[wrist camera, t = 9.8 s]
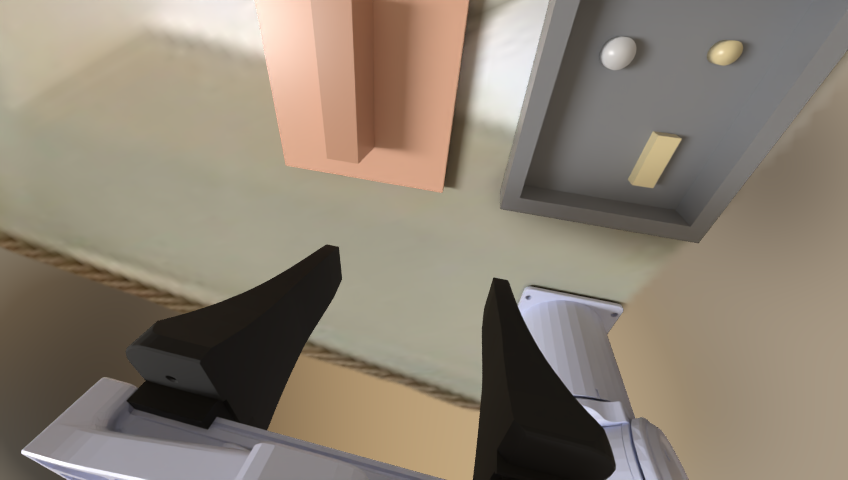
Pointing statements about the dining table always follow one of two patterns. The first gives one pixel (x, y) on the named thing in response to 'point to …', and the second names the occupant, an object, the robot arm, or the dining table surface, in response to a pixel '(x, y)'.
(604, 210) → the tub
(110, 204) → the dining table surface
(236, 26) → the dining table surface
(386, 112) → the lid
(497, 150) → the dining table surface
